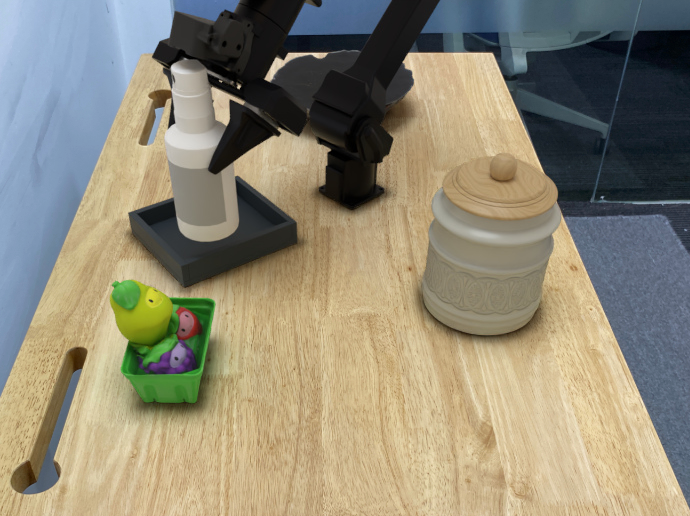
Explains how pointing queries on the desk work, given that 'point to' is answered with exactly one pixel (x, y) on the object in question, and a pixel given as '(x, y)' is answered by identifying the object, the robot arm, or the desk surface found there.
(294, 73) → the bowl
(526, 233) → the jar
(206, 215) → the spray bottle
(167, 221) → the tray
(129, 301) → the fruit basket
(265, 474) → the desk surface
